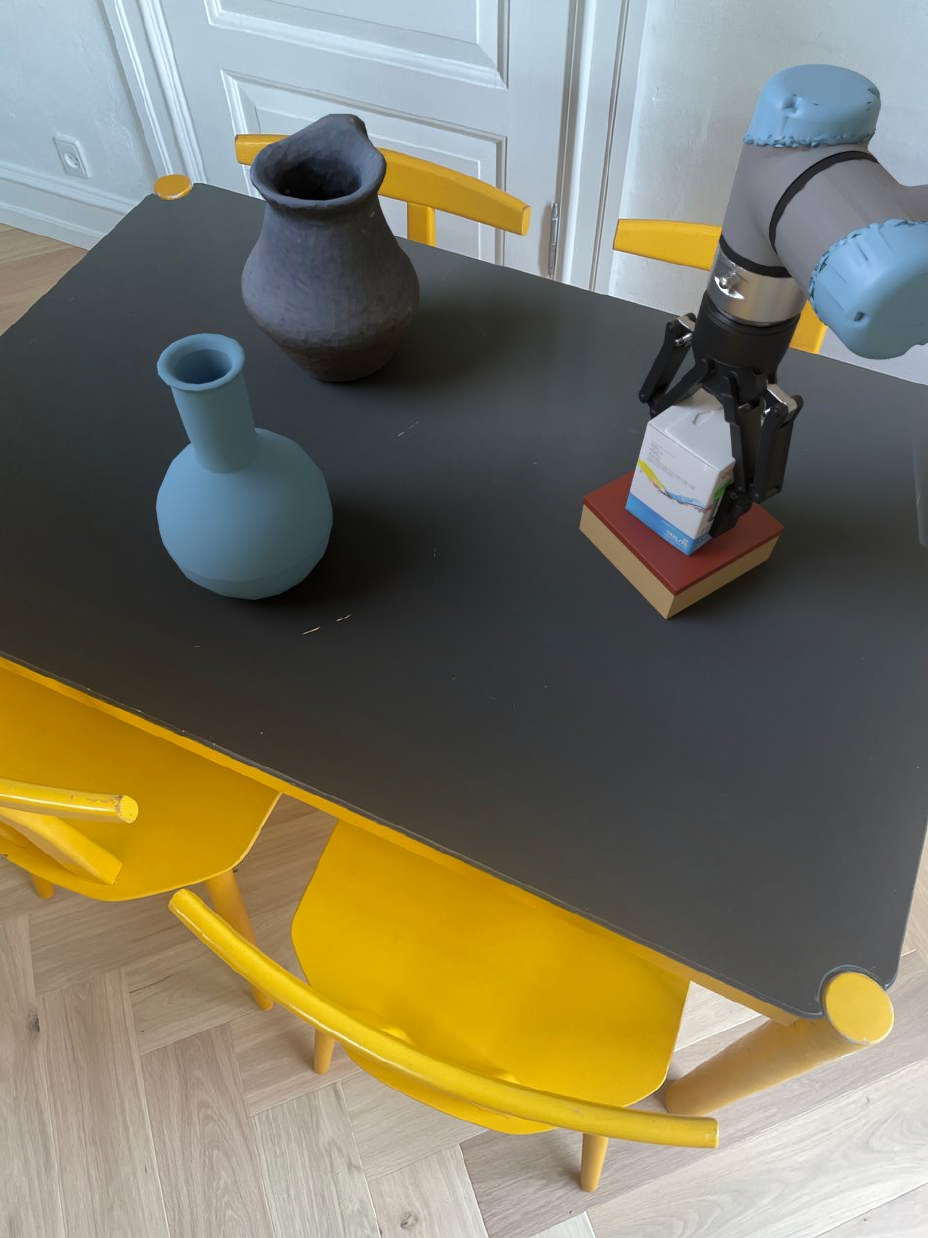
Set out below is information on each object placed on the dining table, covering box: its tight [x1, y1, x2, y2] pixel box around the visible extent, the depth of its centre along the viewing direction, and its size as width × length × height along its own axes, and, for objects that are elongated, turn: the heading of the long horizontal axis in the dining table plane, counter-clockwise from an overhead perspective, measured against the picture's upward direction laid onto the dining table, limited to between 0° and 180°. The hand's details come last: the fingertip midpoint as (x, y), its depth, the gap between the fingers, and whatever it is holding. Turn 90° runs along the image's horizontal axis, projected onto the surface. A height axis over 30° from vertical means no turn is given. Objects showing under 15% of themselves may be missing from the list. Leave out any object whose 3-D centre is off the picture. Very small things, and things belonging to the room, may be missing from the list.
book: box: [579, 469, 786, 620], centre depth 88 cm, size 14×14×5 cm
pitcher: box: [240, 113, 421, 383], centre depth 97 cm, size 21×22×25 cm
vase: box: [155, 332, 334, 601], centre depth 78 cm, size 16×16×25 cm
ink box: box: [626, 388, 764, 556], centre depth 81 cm, size 8×8×12 cm
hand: (687, 498), depth 84 cm, fingers closed on ink box, 9 cm apart
